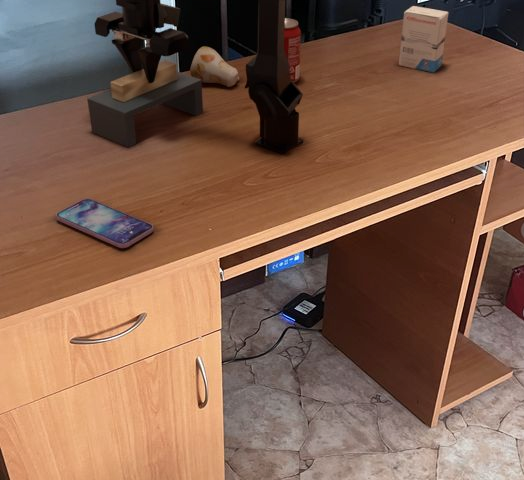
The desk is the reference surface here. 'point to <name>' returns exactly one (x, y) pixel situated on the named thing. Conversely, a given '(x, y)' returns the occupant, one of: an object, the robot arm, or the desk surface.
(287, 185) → the desk surface
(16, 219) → the desk surface
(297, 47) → the soda can
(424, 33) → the ink box
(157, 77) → the stick
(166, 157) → the desk surface
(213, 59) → the cream rounded tapered piece
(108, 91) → the small grey bench
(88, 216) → the smartphone
